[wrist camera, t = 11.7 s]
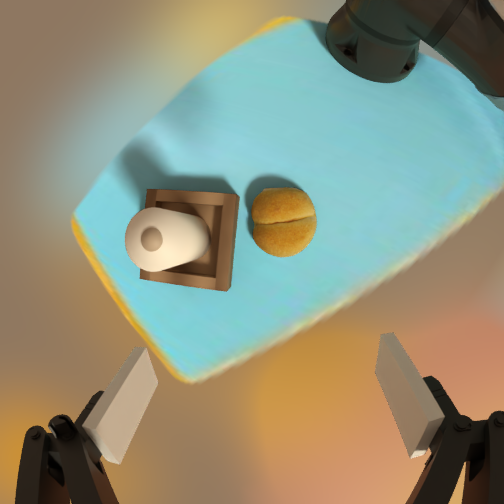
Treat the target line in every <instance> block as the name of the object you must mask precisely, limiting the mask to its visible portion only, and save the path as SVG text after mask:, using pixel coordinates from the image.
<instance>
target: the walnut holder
mask: <svg viewBox="0 0 504 504" xmlns="http://www.w3.org/2000/svg"><path fill="white" fill-rule="evenodd" d="M239 200H240V197H239V196H238V195H236V194H226V193H213V192H198V191H181V190H162V189H147V194H146V203H145V209H146V208H151V207H156V208H162V209H166V210H171V211H176V212H180V213H185V214H190V215H194V216H198V217H200V218H202V219H203V220H204V221H205V222H206V223H207V224H208V226H209V228H210V230H211V235H212V241H211V245H210V248H209V250H208V251H207V253H206V254H205V255H204V256H202V257H201V258H199V259H196V260H193V261H190V262H187V263H184V264H181V265H177V266H174V267H171V268H168V269H165V270H162V271H157V272H150V271H146V270H143V269H141V268H140V279H144V280H150V281H156V282H163V283H169V284H176V285H183V286H190V287H196V288H204V289H211V290H218V291H226V292H227V291H228V289H229V288H230V287H231V279H232V269H233V259H234V248H235V238H236V228H237V219H238V209H239Z"/></svg>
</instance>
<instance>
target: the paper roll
mask: <svg viewBox="0 0 504 504" xmlns="http://www.w3.org/2000/svg"><path fill="white" fill-rule="evenodd" d="M211 241H212V235H211V230H210V228H209V226H208V224H207V223H206V222H205V221H204V220H203V219H202V218H200V217H198V216H194V215H190V214H185V213H180V212H176V211H171V210H166V209H162V208H156V207H151V208H146V209H143V210H141V211H140V212H138V213H137V214H136V215H135V216H134V217H133V218H132V219H131V221H130V222H129V224H128V226H127V229H126V233H125V246H126V250H127V253H128V255H129V257H130V259H131V260H132V261H133V263H134V264H135V265H137V266H138V267H139V268H141V269H143V270H146V271H150V272H157V271H162V270H165V269H168V268H171V267H174V266H177V265H181V264H184V263H187V262H190V261H193V260H196V259H199V258H201V257H202V256H204V255H205V254H206V253H207V251H208V250H209V248H210V245H211Z"/></svg>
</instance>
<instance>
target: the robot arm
mask: <svg viewBox="0 0 504 504" xmlns="http://www.w3.org/2000/svg"><path fill="white" fill-rule="evenodd" d="M420 39H421V40H422V41H424V42H425V43H427V44H428V45H429V46H431V47H432V48H433V49H435V50H436V51H437V52H438V53H439V54H441V55H442V56H443V57H444V58H446V59H447V60H448V61H449V62H450V63H451V64H453V65H454V66H455V67H456V68H457V69H458V70H459V71H460V72H462V73H463V74H464V75H465V76H466V77H467V78H468V79H469V80H470V81H471V82H472V83H473V84H474V85H475V87H476V88H477V90H478V91H479V92H480V93H481V94H483V95H484V96H486V97H487V98H488V99H489V100H490V101H491V102H492V103H493V104H494V105H495V106H496V107H497V108H499V109H501V110H502V111H504V0H346V3H345V4H344V5H343V6H342V7H341V8H340V9H339V10H338V11H337V12H336V13H335V14H334V15H333V16H332V18H331V19H330V21H329V23H328V26H327V31H326V43H327V46H328V48H329V50H330V52H331V54H332V55H333V56H334V58H335V59H336V60H337V61H338V62H339V63H340V64H341V65H342V66H344V67H345V68H346V69H348V70H349V71H351V72H352V73H354V74H356V75H358V76H360V77H362V78H365V79H367V80H370V81H374V82H380V83H393V82H398V81H400V80H402V79H404V78H406V77H407V76H408V75H409V73H410V72H411V71H412V70H413V68H414V67H415V65H416V62H417V57H418V50H419V42H420ZM375 374H376V376H377V378H378V381H379V383H380V385H381V387H382V390H383V392H384V394H385V397H386V399H387V402H388V404H389V406H390V409H391V411H392V414H393V416H394V419H395V421H396V424H397V426H398V429H399V431H400V434H401V436H402V439H403V441H404V444H405V446H406V449H407V451H408V454H409V457H410V459H411V458H414V457H417V456H421V455H424V454H425V453H426V451H427V449H428V448H430V450H431V452H432V453H431V455H430V457H429V458H428V460H427V462H426V463H425V465H426V466H425V468H424V470H423V472H422V474H421V476H420V478H419V480H418V482H417V484H416V486H415V488H414V490H413V491H412V493H411V495H410V497H409V499H408V500H407V502H406V504H448V503H449V501H450V498H451V496H452V494H453V492H454V489H455V487H456V484H457V481H458V479H459V476H460V473H461V471H462V468H463V465H464V462H466V471H465V481H464V490H463V498H462V504H504V411H495V412H493V413H492V414H491V415H490V417H489V419H488V420H480V421H472V420H471V419H470V418H469V417H467V416H465V415H460V414H459V412H458V410H457V409H456V407H455V406H454V404H453V402H452V401H451V399H450V398H449V396H448V395H447V393H446V392H445V390H444V389H443V387H442V385H441V384H440V382H439V381H438V380H437V379H435V378H434V377H432V376H428V377H424V378H422V377H421V375H420V373H419V372H418V370H417V369H416V367H415V365H414V364H413V362H412V361H411V359H410V357H409V356H408V355H407V353H406V351H405V350H404V348H403V346H402V345H401V343H400V342H399V340H398V339H397V337H396V336H395V334H394V333H387V334H381V337H380V344H379V351H378V358H377V364H376V369H375ZM157 385H158V381H157V378H156V375H155V372H154V369H153V367H152V364H151V361H150V358H149V355H148V352H147V349H146V347H134V349H133V350H132V352H131V353H130V355H129V356H128V358H127V359H126V360H125V362H124V364H123V365H122V366H121V368H120V369H119V371H118V372H117V374H116V375H115V376H114V378H113V379H112V381H111V382H110V384H109V385H108V387H107V388H106V390H105V391H99V392H97V393H96V394H95V395H93V396H92V398H91V399H90V401H89V403H88V404H87V405H86V407H85V409H84V410H83V411H82V412H81V414H80V415H79V417H78V419H77V420H76V421H75V423H73V422H72V420H71V419H70V417H68V416H67V415H63V414H62V415H57V416H55V417H53V418H52V419H51V420H50V422H49V425H48V427H49V429H50V430H51V432H52V433H47V432H46V431H45V430H44V428H43V427H41V426H33V427H31V428H29V429H28V431H27V432H26V434H25V439H24V443H23V448H22V454H21V460H20V465H19V472H18V479H17V488H16V498H15V504H70V499H71V503H72V504H119V502H118V501H117V498H116V496H115V494H114V491H113V489H112V487H111V484H110V482H109V479H108V477H107V474H106V472H105V469H104V467H103V464H102V462H101V461H100V457H101V455H103V456H104V458H105V459H106V460H107V461H109V462H113V463H117V464H120V463H121V461H122V459H123V457H124V455H125V452H126V450H127V448H128V446H129V444H130V442H131V439H132V437H133V435H134V433H135V431H136V429H137V427H138V424H139V422H140V420H141V418H142V416H143V414H144V412H145V409H146V408H147V405H148V403H149V401H150V399H151V397H152V395H153V393H154V391H155V389H156V387H157Z"/></svg>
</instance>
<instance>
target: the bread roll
mask: <svg viewBox="0 0 504 504" xmlns="http://www.w3.org/2000/svg"><path fill="white" fill-rule="evenodd" d="M251 215H252V219H253V221H254V230H253V239H254V241H255V243H256V244H257V245H258V246H259V247H260V248H261V249H262V250H263V251H265V252H266V253H268V254H271V255H273V256H277V257H289V256H293V255H295V254H298V253H299V252H301V251H302V250H303V249H304V248H306V247H307V245H308V244H309V243H310V241H311V240H312V238H313V236H314V233H315V231H316V224H317V219H316V214H315V209H314V206H313V203H312V201H311V199H310V198H309V196H308V195H307V194H306V193H305V192H304V191H302V190H299V189H296V188H290V187H284V188H265V189H263V191H262V192H261V193H260V194H259V195H257V197H256V198H255V199H254V201H253V205H252V209H251Z"/></svg>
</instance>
